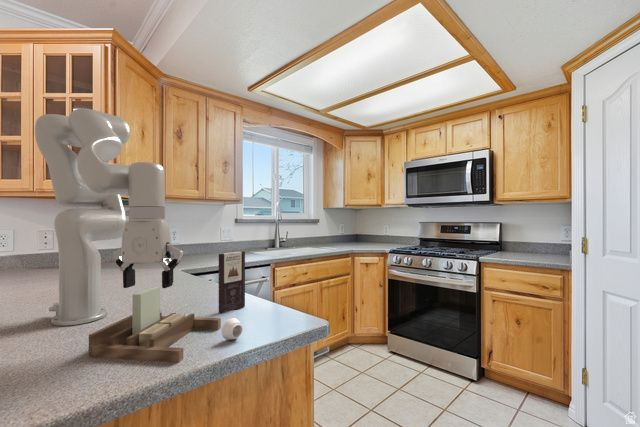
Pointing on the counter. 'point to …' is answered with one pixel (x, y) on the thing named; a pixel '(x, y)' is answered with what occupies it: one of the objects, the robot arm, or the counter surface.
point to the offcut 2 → (172, 319)
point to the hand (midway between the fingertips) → (148, 286)
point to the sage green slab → (145, 308)
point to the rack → (124, 345)
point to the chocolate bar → (231, 281)
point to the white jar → (231, 329)
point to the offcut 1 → (151, 333)
